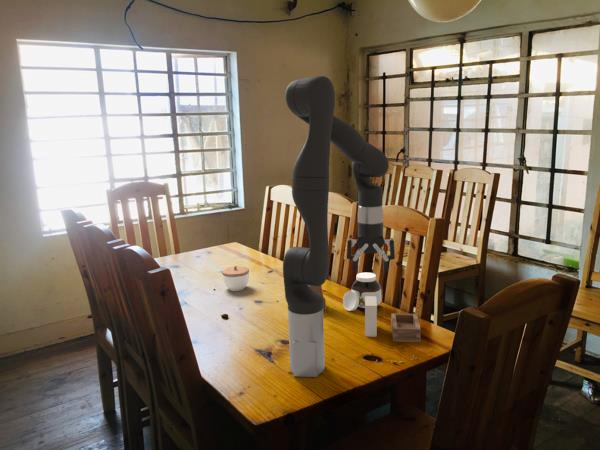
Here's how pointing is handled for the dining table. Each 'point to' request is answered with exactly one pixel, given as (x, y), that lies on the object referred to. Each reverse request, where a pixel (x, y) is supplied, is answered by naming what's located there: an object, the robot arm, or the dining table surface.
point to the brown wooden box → (405, 328)
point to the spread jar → (362, 291)
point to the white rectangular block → (370, 316)
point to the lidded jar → (235, 277)
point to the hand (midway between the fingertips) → (370, 272)
